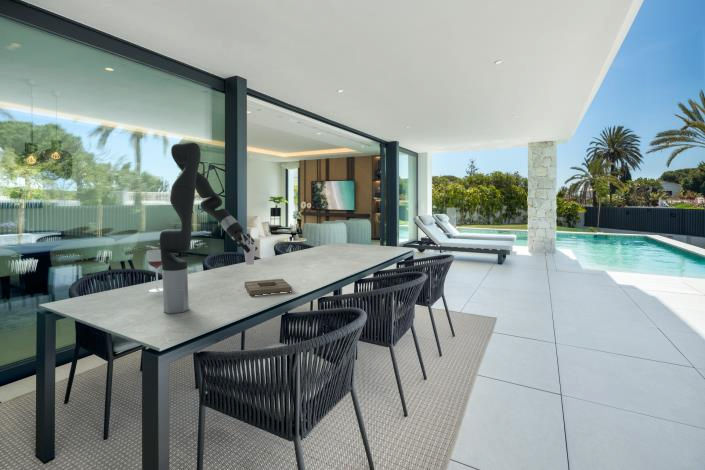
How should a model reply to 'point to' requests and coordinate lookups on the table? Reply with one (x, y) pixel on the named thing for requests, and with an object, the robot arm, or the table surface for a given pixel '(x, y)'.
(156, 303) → the table surface
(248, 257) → the smoothie
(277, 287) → the caddy
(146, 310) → the table surface
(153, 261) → the wineglass
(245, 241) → the robot arm
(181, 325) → the table surface
